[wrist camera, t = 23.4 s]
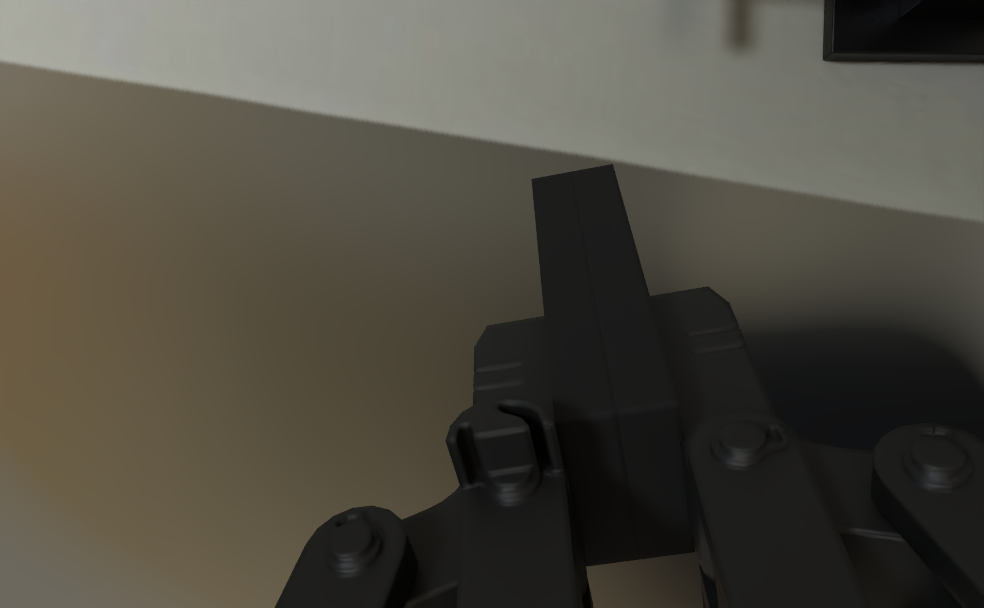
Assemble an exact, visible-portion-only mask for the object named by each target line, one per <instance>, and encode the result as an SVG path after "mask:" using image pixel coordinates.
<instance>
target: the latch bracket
mask: <svg viewBox="0 0 984 608" xmlns="http://www.w3.org/2000/svg"><path fill="white" fill-rule="evenodd" d="M823 60H871V61H963V62H984V0H825V6H824V39H823Z"/></svg>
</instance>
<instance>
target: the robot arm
mask: <svg viewBox="0 0 984 608" xmlns="http://www.w3.org/2000/svg"><path fill="white" fill-rule="evenodd" d="M532 187H533V199H534V210H535V219H536V231H537V241H538V252H539V263H540V274H541V284H542V295H543V306H544V316H542V317H536V318H530V319H524V320H519V321H513V322H506V323H500V324H494V325H489V326H487V327H486V329H485V330H484V332H483V334H482V336H481V337H480V339H479V340H478V342H477V344H476V346H475V347H474V384H473V385H474V387H473V388H474V393H473V406H472V407H470V408H469V409H467V410H465V411H464V412H462V413H461V414H460V415H459V417H458V418H457V419H456V420H455V421H454V422H453V424H452V425H451V426H450V429H449V432H448V435H447V438H446V443H447V446H448V450H449V453H450V456H451V459H452V462H453V465H454V468H455V471H456V474H457V477H458V480H459V484H460V486H459V487H458V488H457V490H456V491H455V492H454V493H452V494H451V495H450V496H449V497H447V498H446V499H445V500H444V501H442V502H440V503H439V504H437V505H434V506H433V507H431V508H429V509H427V510H424V511H422V512H420V513H417V514H415V515H413V516H410V517H408V518H405V519H403V520H401V519H400V518H399V517H397V516H396V515H395V514H394V513H393V512H391V511H390V510H388V509H384V508H380V507H375V506H366V507H358V508H352V509H349V510H347V511H345V512H342V513H340V514H337V515H335V516H333V517H332V518H331V519H329V520H328V521H327V522H325V523H324V524H323V525H321V526H320V527H319V528H318V529H317V530H316V531H315V533H314V534H313V535H312V537H311V538H310V540H309V541H308V542H307V544H306V546H305V547H304V549H303V551H302V553H301V556H300V557H299V559H298V562H297V563H296V566H295V567H294V569H293V572H292V574H291V576H290V578H289V580H288V582H287V584H286V586H285V588H284V590H283V592H282V594H281V596H280V598H279V600H278V602H277V604H276V606H275V608H593V601H592V597H591V592H590V588H589V583H588V579H587V571H586V566H593V565H600V564H608V563H616V562H623V561H630V560H638V559H646V558H652V557H660V556H668V555H675V554H683V553H691V552H695V548H696V552H697V556H698V559H699V567H700V576H701V586H702V596H703V607H704V608H984V441H982V440H981V439H979V438H978V437H976V436H975V435H973V434H972V433H970V432H967V431H964V430H961V429H958V428H955V427H952V426H949V425H944V424H932V423H916V424H912V425H906V426H900V427H898V428H896V429H894V430H892V431H890V432H889V433H887V434H885V435H883V436H882V438H881V439H880V441H879V442H878V444H877V445H876V447H875V448H874V450H862V449H851V448H841V447H835V446H829V445H822V444H819V443H817V442H814V441H811V440H808V439H805V438H803V437H802V436H800V435H798V434H796V433H795V432H793V430H792V429H791V427H790V426H789V425H788V424H787V423H785V422H784V421H782V420H780V419H779V418H778V416H777V415H776V413H775V411H774V409H773V407H772V404H771V402H770V400H769V397H768V395H767V392H766V390H765V388H764V385H763V383H762V380H761V378H760V376H759V373H758V371H757V368H756V366H755V363H754V361H753V359H752V356H751V354H750V351H749V349H748V347H746V342H745V340H744V337H743V335H742V332H741V330H740V329H739V326H738V323H737V320H736V318H735V315H734V313H733V311H732V308H731V306H730V303H729V302H727V301H726V300H725V299H723V298H722V297H721V296H720V295H718V294H717V293H715V291H713V290H712V289H711V288H709V287H702V288H697V289H691V290H684V291H678V292H672V293H666V294H660V295H654V296H650V295H649V292H648V288H647V285H646V281H645V278H644V274H643V271H642V267H641V264H640V260H639V256H638V253H637V249H636V246H635V242H634V239H633V235H632V231H631V228H630V224H629V221H628V217H627V214H626V210H625V206H624V203H623V200H622V196H621V192H620V189H619V185H618V182H617V178H616V175H615V171H614V167H613V164H610V165H605V166H600V167H594V168H589V169H584V170H578V171H573V172H567V173H562V174H557V175H551V176H546V177H541V178H535V179H532ZM694 544H695V546H694Z"/></svg>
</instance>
